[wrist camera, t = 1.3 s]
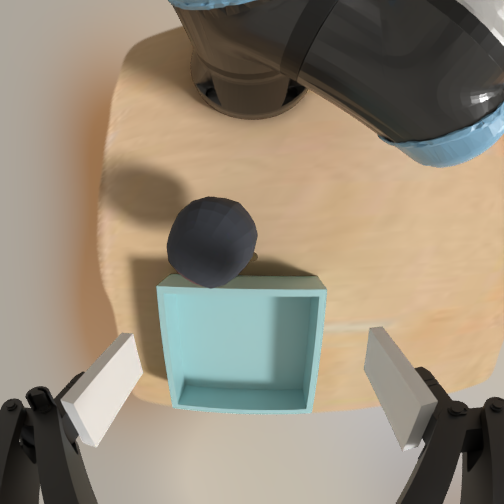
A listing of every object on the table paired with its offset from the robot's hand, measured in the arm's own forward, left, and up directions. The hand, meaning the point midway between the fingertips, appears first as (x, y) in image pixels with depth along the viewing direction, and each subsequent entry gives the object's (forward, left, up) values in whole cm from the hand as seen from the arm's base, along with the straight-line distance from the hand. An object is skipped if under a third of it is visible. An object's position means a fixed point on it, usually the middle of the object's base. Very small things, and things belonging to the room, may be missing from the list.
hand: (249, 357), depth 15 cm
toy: (-5, -4, -22) cm, 22 cm away
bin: (+10, -2, -21) cm, 24 cm away
